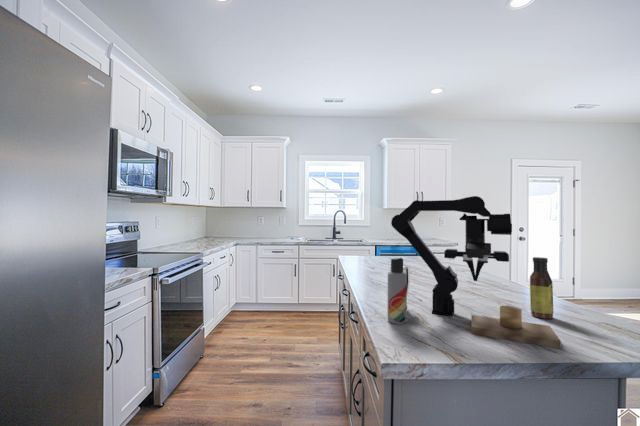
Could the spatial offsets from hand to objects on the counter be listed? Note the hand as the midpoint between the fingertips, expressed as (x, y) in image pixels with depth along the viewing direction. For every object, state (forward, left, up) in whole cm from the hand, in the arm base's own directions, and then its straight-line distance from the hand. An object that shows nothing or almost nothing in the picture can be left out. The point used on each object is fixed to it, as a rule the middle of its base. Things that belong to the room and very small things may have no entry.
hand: (475, 280), depth 98 cm
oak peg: (+9, -11, -12) cm, 18 cm away
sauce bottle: (+20, +12, -12) cm, 26 cm away
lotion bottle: (-22, -17, -12) cm, 30 cm away
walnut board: (+9, -11, -12) cm, 19 cm away
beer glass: (-24, -4, -12) cm, 27 cm away
